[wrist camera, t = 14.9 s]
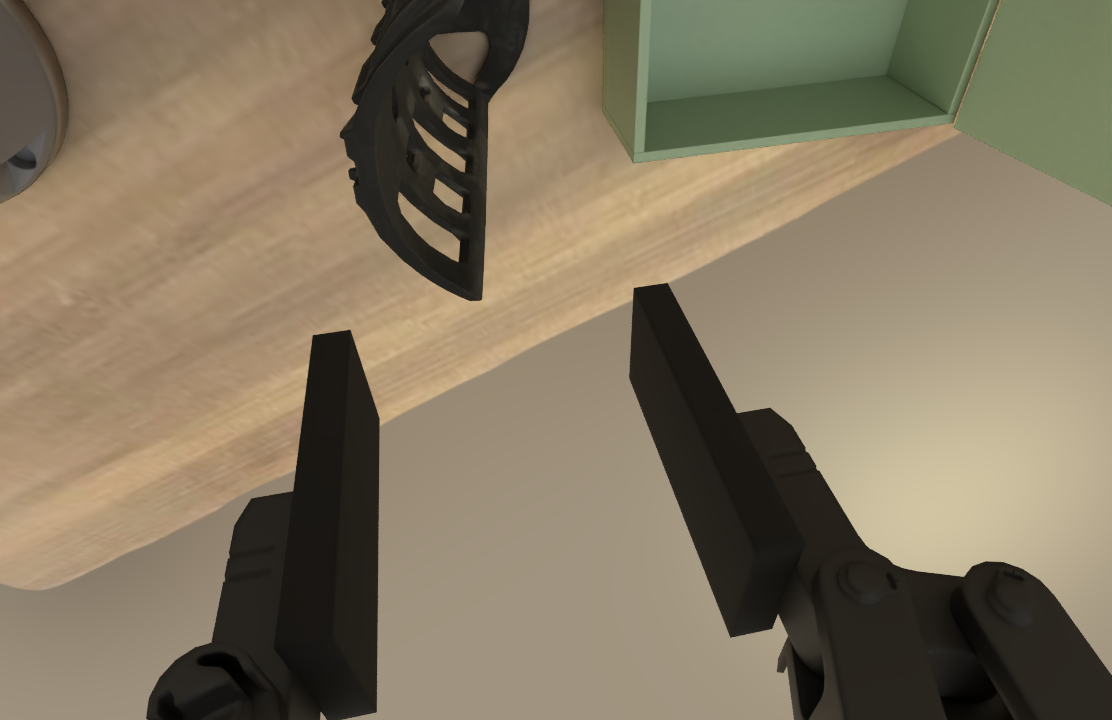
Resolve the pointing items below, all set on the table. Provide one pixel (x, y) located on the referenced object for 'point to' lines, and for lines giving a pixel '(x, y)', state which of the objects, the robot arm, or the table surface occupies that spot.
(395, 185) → the holder
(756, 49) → the box
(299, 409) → the table surface
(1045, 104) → the lid
